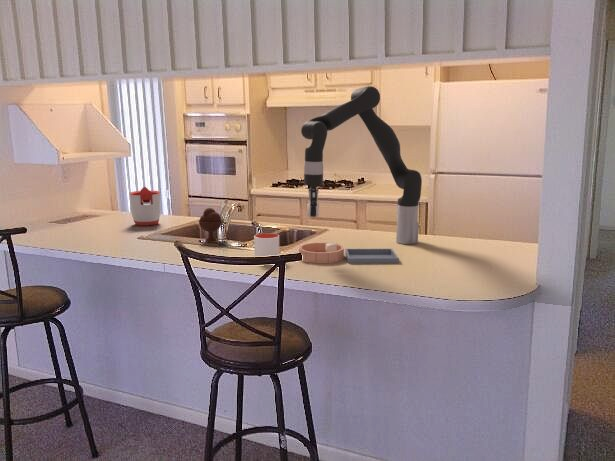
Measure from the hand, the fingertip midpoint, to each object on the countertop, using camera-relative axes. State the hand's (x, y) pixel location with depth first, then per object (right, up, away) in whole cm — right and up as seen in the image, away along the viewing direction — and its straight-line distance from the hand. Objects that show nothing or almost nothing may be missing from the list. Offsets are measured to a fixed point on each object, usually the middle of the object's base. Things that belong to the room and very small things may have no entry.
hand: (313, 215), depth 225 cm
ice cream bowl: (-47, -11, +36) cm, 60 cm away
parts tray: (+23, -18, +2) cm, 29 cm away
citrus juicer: (-87, -3, +73) cm, 114 cm away
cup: (-19, -18, +2) cm, 26 cm away
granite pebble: (0, 0, 0) cm, 0 cm away
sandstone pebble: (+7, -17, +4) cm, 19 cm away
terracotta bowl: (+3, -17, +4) cm, 18 cm away
